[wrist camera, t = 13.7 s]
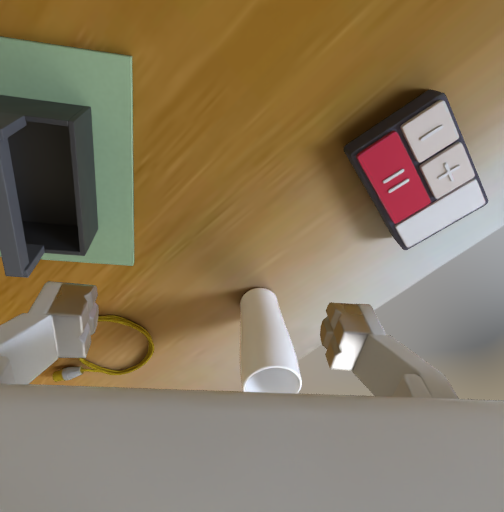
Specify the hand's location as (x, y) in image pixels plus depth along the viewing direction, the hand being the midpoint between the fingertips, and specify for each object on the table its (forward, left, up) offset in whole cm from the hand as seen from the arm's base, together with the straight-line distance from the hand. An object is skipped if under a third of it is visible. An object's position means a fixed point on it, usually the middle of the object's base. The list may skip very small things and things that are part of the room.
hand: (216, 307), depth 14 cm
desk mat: (+8, -17, -33) cm, 38 cm away
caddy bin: (+8, -17, -32) cm, 37 cm away
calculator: (+4, +24, -33) cm, 41 cm away
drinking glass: (+25, +9, -33) cm, 42 cm away
